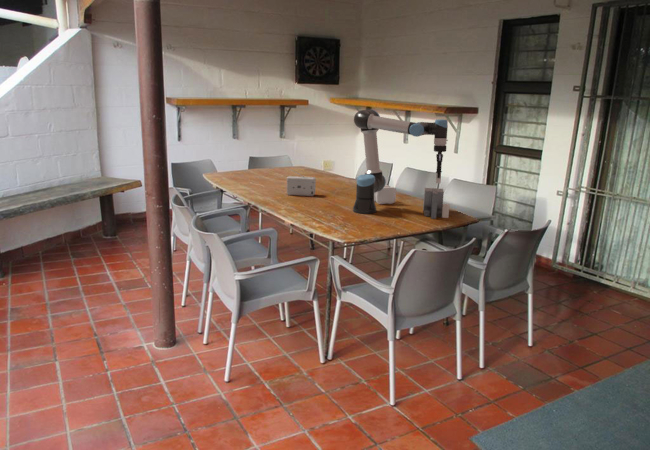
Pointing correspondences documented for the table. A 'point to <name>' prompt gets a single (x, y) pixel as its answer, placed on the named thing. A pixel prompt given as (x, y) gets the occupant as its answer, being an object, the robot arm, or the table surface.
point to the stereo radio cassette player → (301, 185)
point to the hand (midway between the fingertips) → (438, 182)
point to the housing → (433, 201)
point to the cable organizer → (385, 195)
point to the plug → (444, 213)
